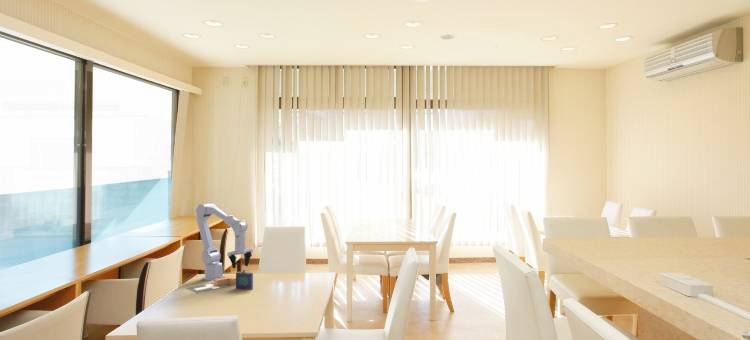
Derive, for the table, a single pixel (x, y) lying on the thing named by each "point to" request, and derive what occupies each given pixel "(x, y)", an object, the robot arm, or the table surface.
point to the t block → (225, 281)
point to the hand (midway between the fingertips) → (240, 266)
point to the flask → (244, 280)
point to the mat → (207, 287)
